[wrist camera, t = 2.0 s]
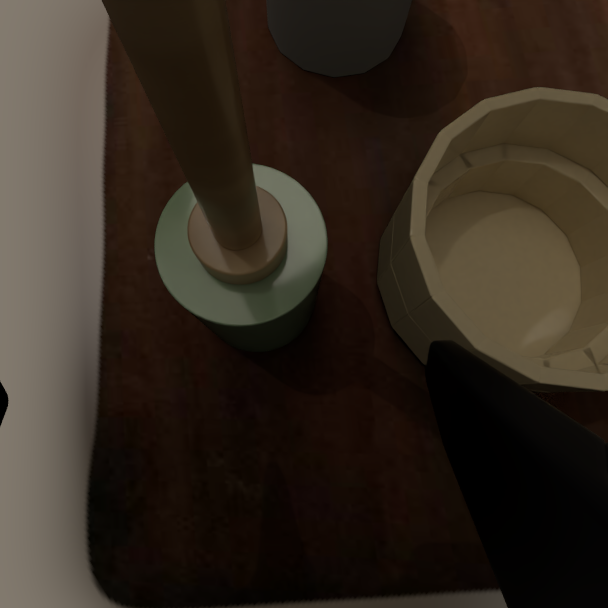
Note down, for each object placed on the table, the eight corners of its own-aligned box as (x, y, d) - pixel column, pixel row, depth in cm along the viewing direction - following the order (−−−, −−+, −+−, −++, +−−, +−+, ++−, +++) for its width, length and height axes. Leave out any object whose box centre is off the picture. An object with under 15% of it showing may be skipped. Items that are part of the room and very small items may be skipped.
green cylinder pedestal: (338, 305, 23) (363, 255, 15) (247, 376, 22) (222, 363, 14) (269, 221, 24) (258, 132, 16) (178, 285, 23) (119, 226, 15)
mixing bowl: (645, 296, 23) (792, 253, 16) (484, 442, 21) (574, 462, 15) (491, 136, 25) (565, 38, 18) (329, 258, 23) (346, 198, 16)
